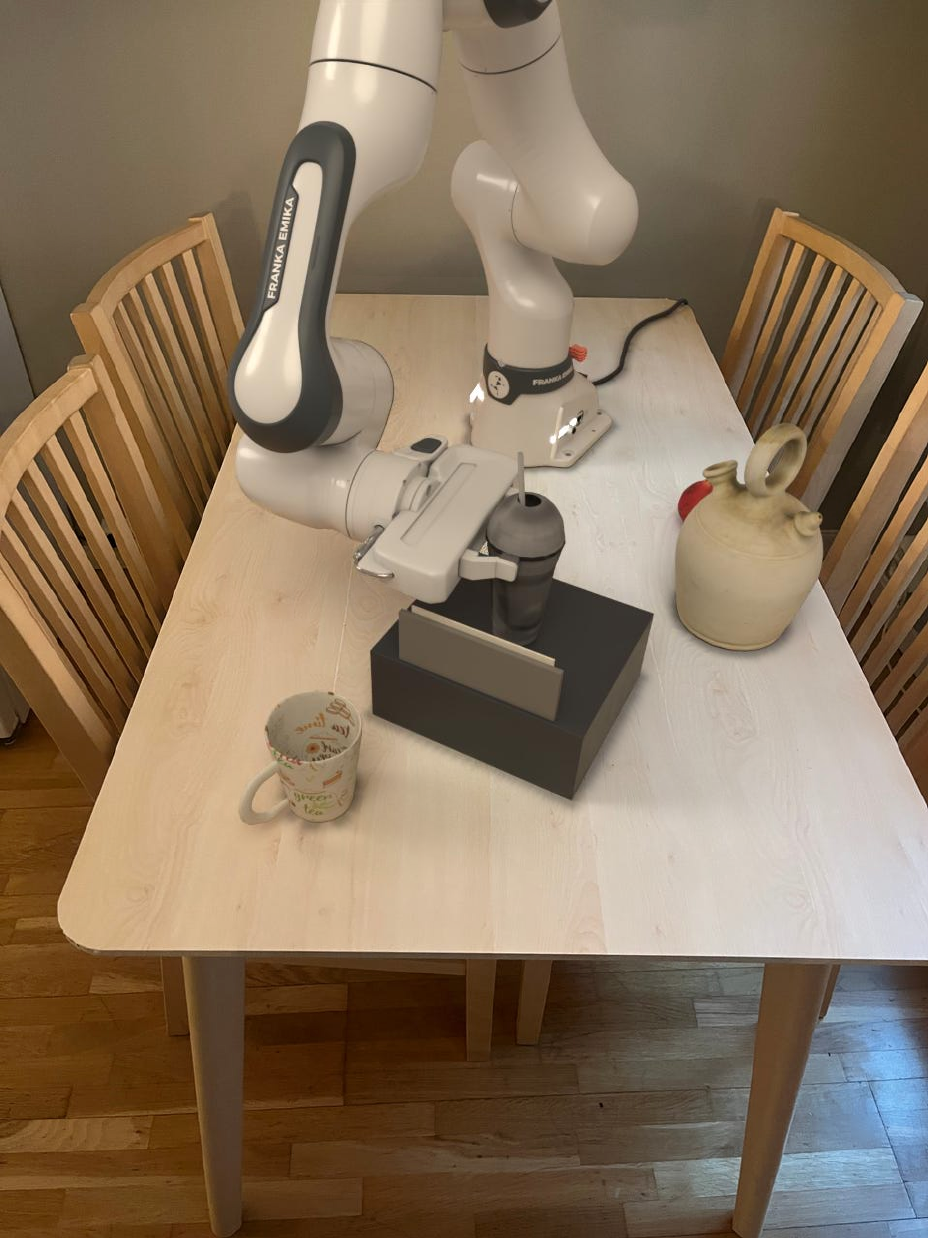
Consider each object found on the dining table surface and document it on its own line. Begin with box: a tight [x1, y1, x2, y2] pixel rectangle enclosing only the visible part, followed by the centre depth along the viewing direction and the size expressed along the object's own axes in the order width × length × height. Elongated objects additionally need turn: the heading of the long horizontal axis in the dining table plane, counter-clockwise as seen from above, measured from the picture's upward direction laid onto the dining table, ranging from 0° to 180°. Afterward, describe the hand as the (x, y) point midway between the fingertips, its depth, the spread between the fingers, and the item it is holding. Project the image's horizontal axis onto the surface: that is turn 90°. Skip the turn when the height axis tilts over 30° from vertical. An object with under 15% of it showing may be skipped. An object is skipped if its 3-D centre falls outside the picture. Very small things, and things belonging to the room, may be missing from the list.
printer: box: [369, 551, 655, 801], centre depth 92 cm, size 19×22×16 cm
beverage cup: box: [485, 452, 567, 646], centre depth 84 cm, size 7×7×20 cm
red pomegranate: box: [677, 478, 713, 523], centre depth 118 cm, size 6×6×8 cm
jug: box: [674, 422, 824, 652], centre depth 99 cm, size 15×16×25 cm
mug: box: [238, 689, 363, 826], centre depth 82 cm, size 8×13×10 cm, turn 138°
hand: (534, 543), depth 83 cm, fingers closed on beverage cup, 7 cm apart
